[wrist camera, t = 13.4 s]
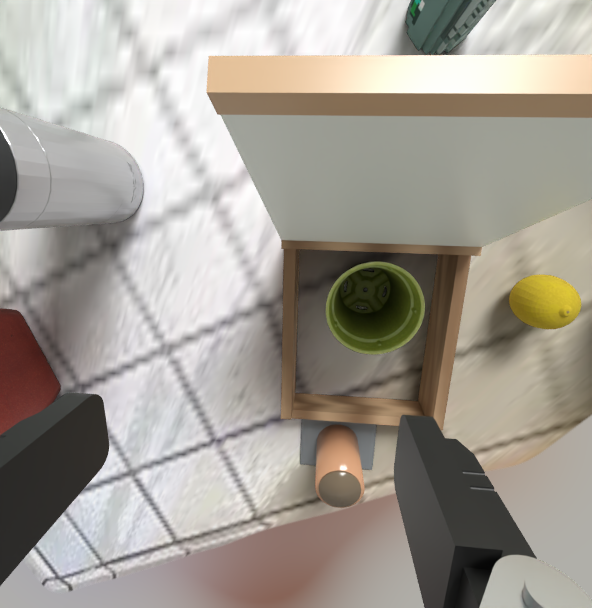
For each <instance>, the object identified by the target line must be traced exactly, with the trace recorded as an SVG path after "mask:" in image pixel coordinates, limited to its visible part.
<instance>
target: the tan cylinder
mask: <svg viewBox="0 0 592 608" xmlns="http://www.w3.org/2000/svg"><path fill="white" fill-rule="evenodd" d="M315 489H316V493H317V495H318V497H319V498H320V499H321V500H322V501H323V502H324V503H326V504H328V505H330V506H333V507H338V508H344V507H349V506H352V505H354V504H356V503H357V502H358V501H359V500H360V499H361V498H362V496H363V494H364V481H363V473H362V466H361V459H360V452H359V445H358V439H357V436H356V434H355V433H354V431H353V430H351V429H350V428H348V427H347V426H344V425H330V426H327V427H325V428H324V429H323V430H322V431H321V432H320V433H319V435H318V437H317V451H316V479H315Z"/></svg>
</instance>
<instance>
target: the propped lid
mask: <svg viewBox="0 0 592 608" xmlns="http://www.w3.org/2000/svg"><path fill="white" fill-rule="evenodd" d="M207 94H208V96H209V98H210V100H211V102H212V104H213V106H214V108H215V110H216V112H217V114H218V115H221V116H222V119H223V121H224V123H225V125H226V127H227V129H228V131H229V133H230V135H231V137H232V139H233V141H234V143H235V145H236V147H237V149H238V152H239V154H240V156H241V158H242V160H243V162H244V164H245V166H246V168H247V170H248V172H249V174H250V176H251V178H252V180H253V182H254V185H255V187H256V189H257V191H258V193H259V195H260V197H261V199H262V201H263V203H264V205H265V207H266V209H267V211H268V213H269V215H270V217H271V220H272V222H273V224H274V226H275V228H276V230H277V232H278V234H279V236H280V238H281V240H294V241H323V242H352V243H381V244H410V245H439V246H468V247H484V246H486V245H488V244H491V243H493V242H495V241H497V240H500V239H502V238H504V237H507V236H509V235H511V234H513V233H516V232H518V231H520V230H522V229H525V228H527V227H529V226H532V225H534V224H536V223H538V222H541V221H543V220H545V219H547V218H550V217H552V216H554V215H557V214H559V213H561V212H563V211H566V210H568V209H570V208H572V207H575V206H577V205H579V204H581V203H584V202H586V201H588V200H591V199H592V55H361V56H209V62H208V78H207Z"/></svg>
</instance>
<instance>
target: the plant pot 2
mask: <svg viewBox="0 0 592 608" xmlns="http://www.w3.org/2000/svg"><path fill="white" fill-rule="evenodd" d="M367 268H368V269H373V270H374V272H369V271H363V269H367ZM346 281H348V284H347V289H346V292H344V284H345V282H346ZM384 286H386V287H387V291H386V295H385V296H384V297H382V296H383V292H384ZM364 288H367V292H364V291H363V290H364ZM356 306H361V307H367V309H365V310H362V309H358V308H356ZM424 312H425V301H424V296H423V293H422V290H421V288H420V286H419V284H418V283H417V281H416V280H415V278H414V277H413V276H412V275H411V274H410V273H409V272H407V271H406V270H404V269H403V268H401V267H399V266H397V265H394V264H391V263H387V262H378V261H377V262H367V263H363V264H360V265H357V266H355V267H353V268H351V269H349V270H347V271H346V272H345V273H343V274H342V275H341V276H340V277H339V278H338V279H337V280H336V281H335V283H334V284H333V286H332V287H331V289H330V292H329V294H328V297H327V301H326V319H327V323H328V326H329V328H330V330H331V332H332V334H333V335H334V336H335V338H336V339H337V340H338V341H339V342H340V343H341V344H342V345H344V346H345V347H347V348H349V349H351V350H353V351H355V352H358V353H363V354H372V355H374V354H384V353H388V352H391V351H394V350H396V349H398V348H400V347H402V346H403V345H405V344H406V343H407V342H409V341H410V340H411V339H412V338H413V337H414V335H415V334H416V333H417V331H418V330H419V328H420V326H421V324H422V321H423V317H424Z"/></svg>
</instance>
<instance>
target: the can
mask: <svg viewBox="0 0 592 608" xmlns="http://www.w3.org/2000/svg"><path fill="white" fill-rule="evenodd" d="M495 1H496V0H411V2H410V4H409V7H408V9H409V11H408V13H407V17H408V18H407V20H406V24H407V25H408V27H409V29H408V31H407V34H408V36H409V37H410V39H411V40H412V42H413V43H414V45H415V47H416V48H417V50H418V51H419V50H420V49H421V48H422V49H423V51H424V52H425V54H426V55H427V54H428V53H429V52H430V53H431V55H433V54H434V53H435V52H436V54H437V55H439V54H441V53H442V52H443V51H444V50H445V51H446V52H447V53H448V52H449V51H451V50H452V49H453V48H454V47H455V46H456V45H458V44H459V43H460V42H461V41H462V40H463V39H465V38H466V36H467V35H468V34H469V33H470V32H471V30H472V29H473V28H474V27H475V25H476V24H477V23H478V22H479V21H480V19H481V18H482V17H483V16H484V14H485V13H486V12H487V11H488V10H489V8H490V7H491V6H492V5H493V4H494V2H495Z"/></svg>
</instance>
